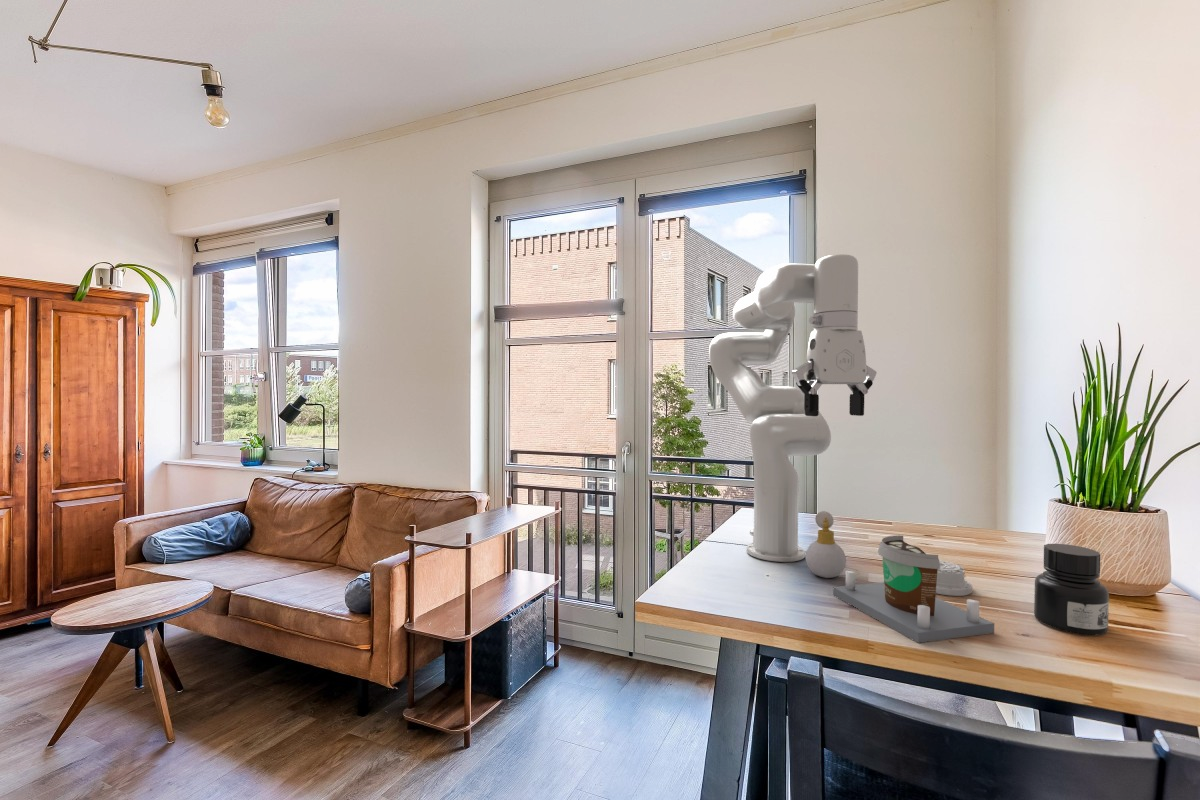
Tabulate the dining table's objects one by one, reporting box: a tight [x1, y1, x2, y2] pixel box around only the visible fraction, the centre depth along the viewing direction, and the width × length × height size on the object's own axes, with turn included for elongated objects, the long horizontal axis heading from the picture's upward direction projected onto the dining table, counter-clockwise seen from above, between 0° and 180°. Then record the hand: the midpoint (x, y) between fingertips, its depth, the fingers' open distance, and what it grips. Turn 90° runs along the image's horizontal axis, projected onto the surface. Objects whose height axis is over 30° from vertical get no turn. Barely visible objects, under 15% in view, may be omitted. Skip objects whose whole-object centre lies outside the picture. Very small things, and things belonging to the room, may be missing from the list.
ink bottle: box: [1033, 543, 1110, 636], centre depth 86 cm, size 10×9×12 cm
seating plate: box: [832, 570, 995, 644], centre depth 91 cm, size 19×14×4 cm
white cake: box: [936, 559, 973, 597], centre depth 103 cm, size 10×4×10 cm
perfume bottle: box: [805, 510, 847, 579], centre depth 110 cm, size 8×10×12 cm
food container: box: [877, 535, 940, 616], centre depth 91 cm, size 12×6×10 cm, turn 176°
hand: (834, 415), depth 102 cm, fingers open, 9 cm apart
